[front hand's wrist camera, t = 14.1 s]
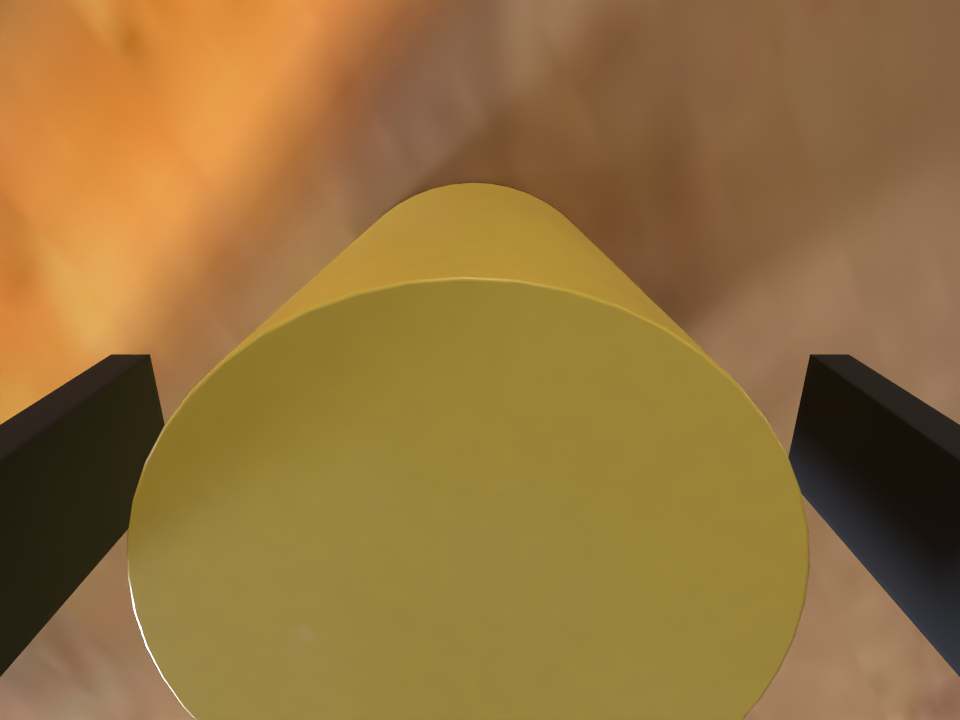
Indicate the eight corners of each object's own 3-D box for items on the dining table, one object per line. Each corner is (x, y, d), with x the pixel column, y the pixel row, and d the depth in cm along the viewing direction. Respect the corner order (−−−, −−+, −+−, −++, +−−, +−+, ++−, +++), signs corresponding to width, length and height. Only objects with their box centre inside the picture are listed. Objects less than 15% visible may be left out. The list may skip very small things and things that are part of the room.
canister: (293, 373, 20) (40, 705, 8) (415, 125, 17) (290, 114, 6) (521, 484, 21) (573, 896, 10) (664, 272, 19) (962, 496, 7)
